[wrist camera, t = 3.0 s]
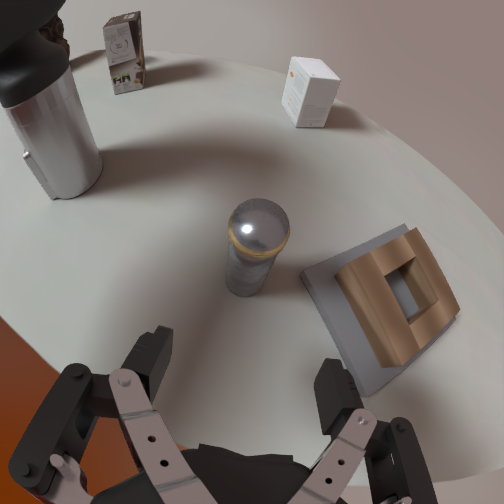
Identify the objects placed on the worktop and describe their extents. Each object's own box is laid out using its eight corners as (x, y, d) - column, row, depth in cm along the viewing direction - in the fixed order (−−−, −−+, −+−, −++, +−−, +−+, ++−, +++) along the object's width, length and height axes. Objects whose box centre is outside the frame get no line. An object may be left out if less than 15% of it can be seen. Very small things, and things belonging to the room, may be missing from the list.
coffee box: (144, 89, 43) (136, 19, 29) (113, 95, 42) (101, 27, 28) (146, 70, 47) (141, 9, 32) (119, 76, 46) (110, 16, 31)
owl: (73, 59, 51) (62, 7, 33) (72, 72, 47) (58, 13, 29) (37, 76, 47) (23, 27, 29) (32, 92, 43) (14, 36, 25)
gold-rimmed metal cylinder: (234, 305, 28) (245, 260, 18) (217, 268, 30) (219, 206, 19) (271, 289, 30) (302, 238, 19) (254, 255, 31) (274, 189, 20)
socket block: (381, 368, 25) (402, 365, 22) (334, 275, 29) (349, 261, 26) (440, 317, 29) (460, 309, 25) (399, 241, 33) (416, 227, 29)
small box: (323, 128, 43) (342, 81, 33) (294, 128, 42) (310, 76, 32) (307, 103, 46) (321, 58, 37) (280, 102, 45) (291, 55, 35)
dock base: (361, 396, 25) (367, 397, 24) (299, 275, 31) (303, 270, 29) (449, 321, 30) (455, 319, 29) (399, 228, 36) (404, 223, 34)
